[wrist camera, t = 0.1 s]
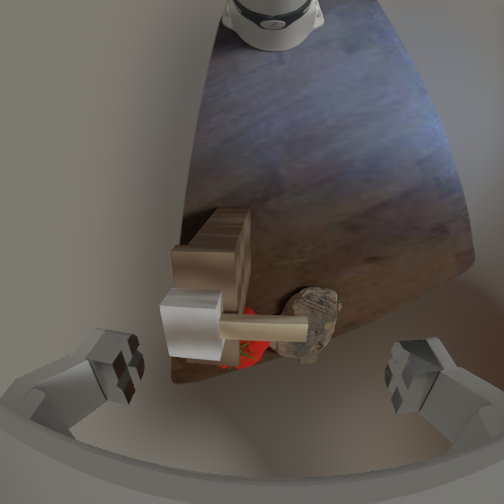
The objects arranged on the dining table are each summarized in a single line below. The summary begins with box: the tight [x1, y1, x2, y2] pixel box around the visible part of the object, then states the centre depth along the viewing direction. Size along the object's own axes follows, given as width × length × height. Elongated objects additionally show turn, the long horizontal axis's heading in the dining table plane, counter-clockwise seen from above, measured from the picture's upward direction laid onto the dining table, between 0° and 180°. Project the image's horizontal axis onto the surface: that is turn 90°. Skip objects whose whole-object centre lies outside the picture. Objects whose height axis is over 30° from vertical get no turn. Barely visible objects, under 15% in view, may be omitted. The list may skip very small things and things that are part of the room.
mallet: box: [160, 288, 308, 361], centre depth 32 cm, size 7×16×4 cm, turn 90°
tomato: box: [217, 306, 270, 370], centre depth 60 cm, size 13×14×12 cm
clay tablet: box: [269, 286, 341, 364], centre depth 62 cm, size 14×5×20 cm
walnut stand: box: [171, 207, 251, 366], centre depth 46 cm, size 16×7×26 cm, turn 0°
